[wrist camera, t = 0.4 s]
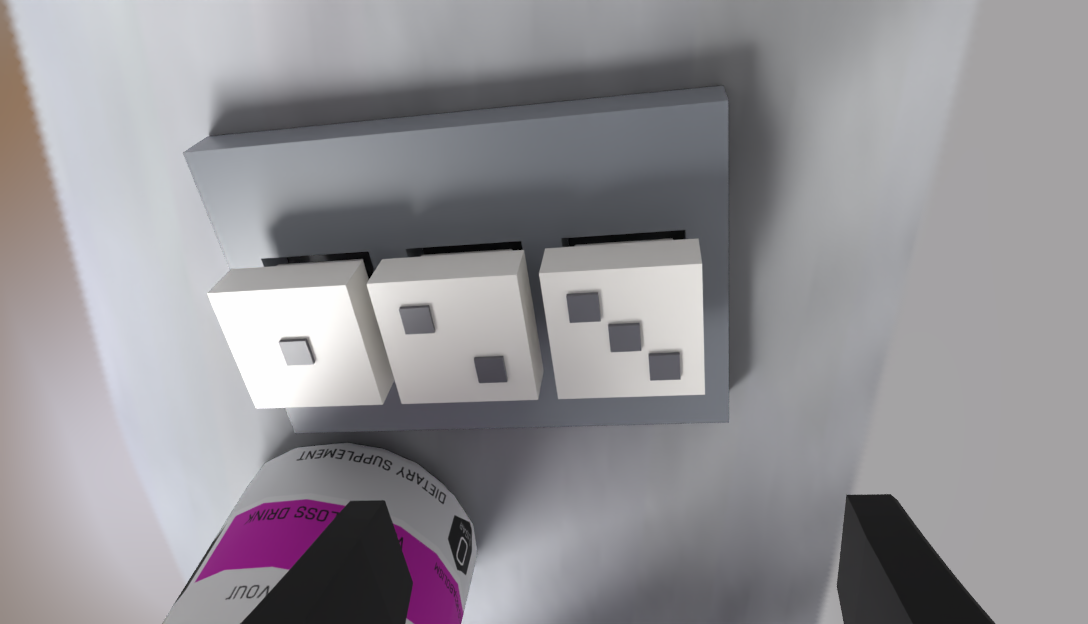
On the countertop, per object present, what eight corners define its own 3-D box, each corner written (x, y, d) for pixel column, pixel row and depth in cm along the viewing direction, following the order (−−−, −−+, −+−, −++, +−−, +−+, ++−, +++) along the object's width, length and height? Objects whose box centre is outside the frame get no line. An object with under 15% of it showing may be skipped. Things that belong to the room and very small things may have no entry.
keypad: (724, 395, 21) (728, 422, 20) (310, 408, 24) (295, 433, 23) (723, 85, 17) (728, 100, 16) (207, 136, 19) (182, 152, 18)
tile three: (698, 337, 19) (705, 397, 17) (566, 343, 20) (557, 401, 18) (695, 215, 18) (702, 266, 15) (550, 225, 18) (538, 275, 16)
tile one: (408, 350, 21) (381, 407, 19) (292, 355, 21) (254, 411, 19) (377, 238, 19) (343, 287, 17) (252, 247, 19) (204, 295, 17)
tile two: (548, 344, 20) (537, 402, 18) (425, 349, 21) (400, 406, 18) (530, 227, 18) (515, 277, 16) (396, 237, 19) (364, 286, 17)
